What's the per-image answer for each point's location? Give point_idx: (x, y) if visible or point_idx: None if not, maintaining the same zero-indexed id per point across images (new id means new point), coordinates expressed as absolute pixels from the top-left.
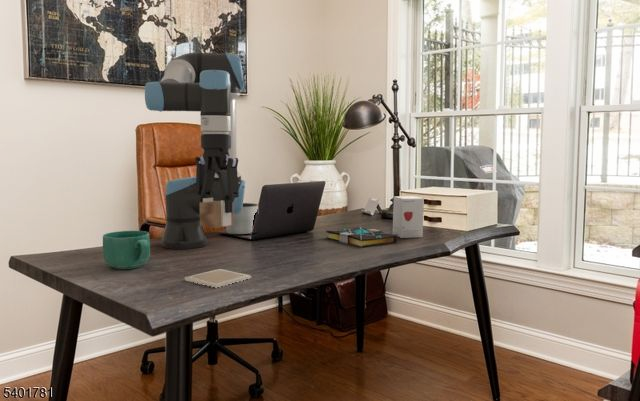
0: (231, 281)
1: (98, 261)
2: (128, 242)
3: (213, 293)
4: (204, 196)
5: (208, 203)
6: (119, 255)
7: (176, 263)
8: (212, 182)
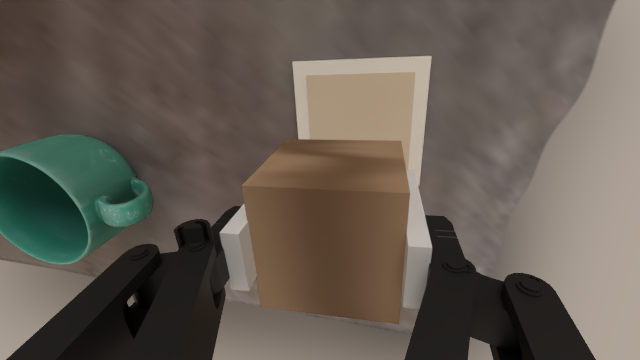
0: (423, 136)
1: None
2: (101, 235)
3: (442, 212)
4: (224, 289)
5: (334, 314)
6: (120, 230)
7: (134, 79)
8: (188, 344)
